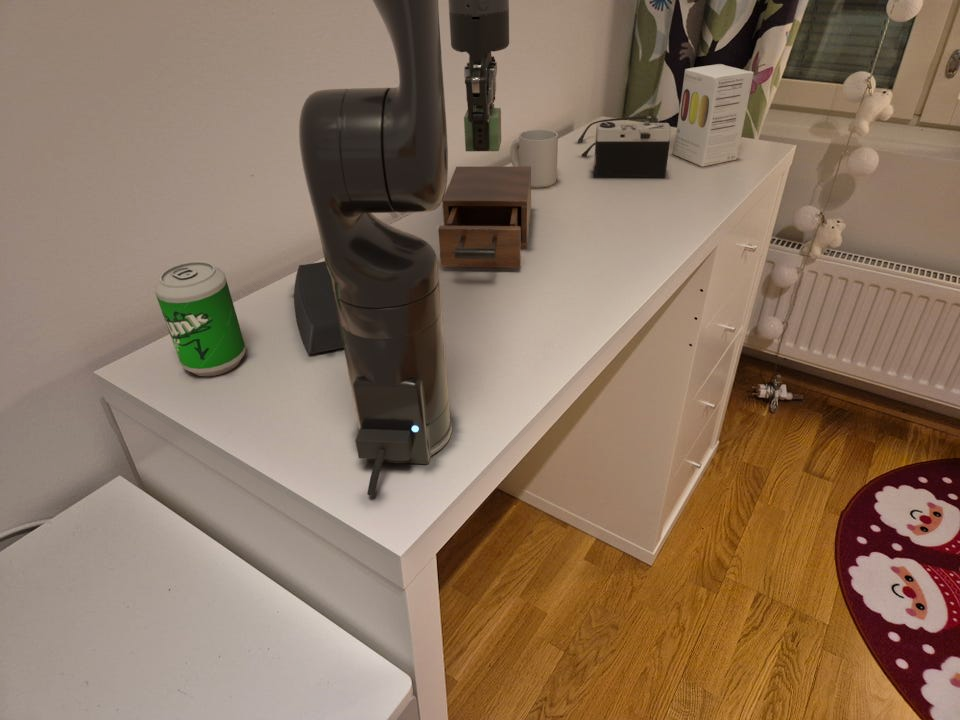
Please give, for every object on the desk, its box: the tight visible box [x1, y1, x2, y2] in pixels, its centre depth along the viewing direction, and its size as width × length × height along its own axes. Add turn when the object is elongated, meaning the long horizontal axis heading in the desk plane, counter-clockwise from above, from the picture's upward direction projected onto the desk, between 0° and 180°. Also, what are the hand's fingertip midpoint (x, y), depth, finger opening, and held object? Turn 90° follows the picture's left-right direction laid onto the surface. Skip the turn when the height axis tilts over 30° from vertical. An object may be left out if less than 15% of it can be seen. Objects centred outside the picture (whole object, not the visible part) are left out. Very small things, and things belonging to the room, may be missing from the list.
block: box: [463, 107, 502, 152], centre depth 91 cm, size 5×5×5 cm
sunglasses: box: [577, 114, 659, 157], centre depth 140 cm, size 16×17×5 cm
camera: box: [593, 120, 672, 179], centre depth 127 cm, size 14×9×10 cm, turn 76°
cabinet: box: [441, 166, 532, 250], centre depth 107 cm, size 16×13×8 cm
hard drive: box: [293, 260, 344, 355], centre depth 87 cm, size 13×19×4 cm
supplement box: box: [672, 63, 755, 167], centre depth 130 cm, size 10×9×17 cm
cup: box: [509, 129, 559, 189], centre depth 125 cm, size 7×10×9 cm
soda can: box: [153, 260, 247, 377], centre depth 76 cm, size 8×8×12 cm
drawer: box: [437, 206, 522, 268], centre depth 97 cm, size 20×12×6 cm, turn 174°
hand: (483, 143), depth 92 cm, fingers closed on block, 4 cm apart
